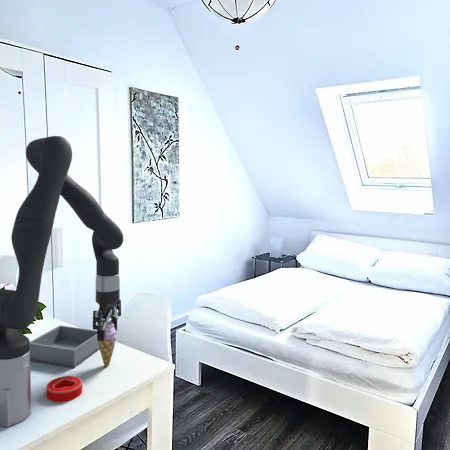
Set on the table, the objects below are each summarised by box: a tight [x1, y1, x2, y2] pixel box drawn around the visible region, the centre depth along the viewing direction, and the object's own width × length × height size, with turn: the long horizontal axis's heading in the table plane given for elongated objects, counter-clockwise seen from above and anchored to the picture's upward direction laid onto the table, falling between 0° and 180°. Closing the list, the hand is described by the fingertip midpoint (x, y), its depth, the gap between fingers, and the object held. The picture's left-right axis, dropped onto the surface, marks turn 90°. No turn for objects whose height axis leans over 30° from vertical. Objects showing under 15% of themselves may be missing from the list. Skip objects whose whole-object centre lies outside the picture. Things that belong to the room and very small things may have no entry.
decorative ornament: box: [45, 375, 83, 403], centre depth 121 cm, size 10×10×3 cm
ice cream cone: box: [98, 320, 120, 368], centre depth 138 cm, size 7×6×15 cm
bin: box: [29, 324, 100, 369], centre depth 147 cm, size 18×18×6 cm
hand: (107, 335), depth 138 cm, fingers open, 8 cm apart
